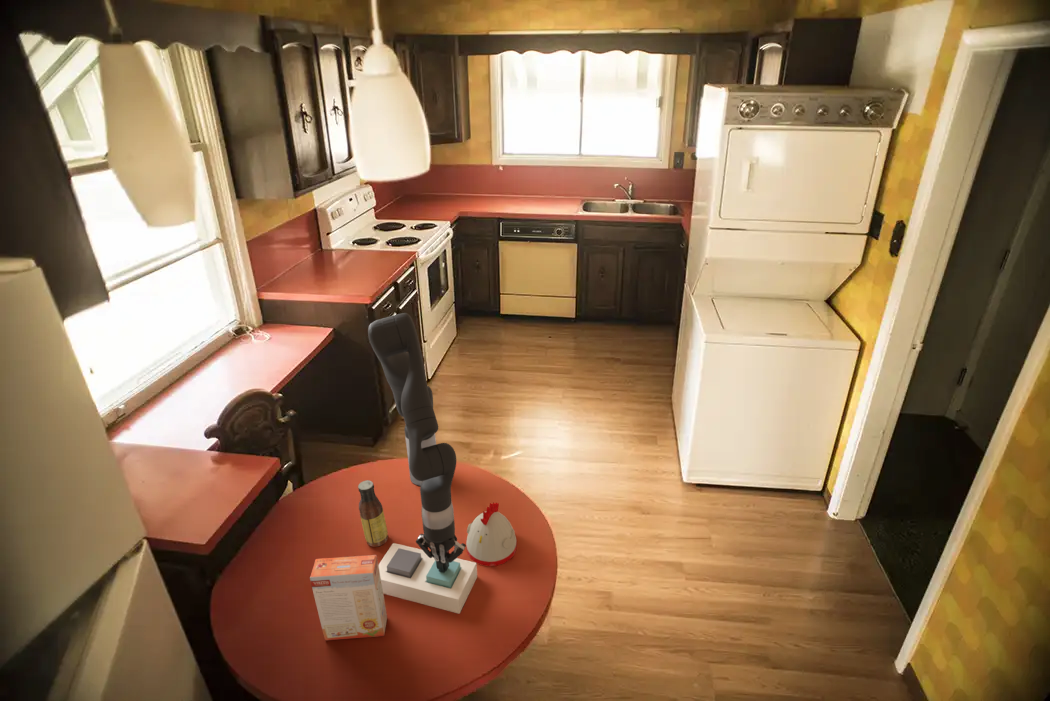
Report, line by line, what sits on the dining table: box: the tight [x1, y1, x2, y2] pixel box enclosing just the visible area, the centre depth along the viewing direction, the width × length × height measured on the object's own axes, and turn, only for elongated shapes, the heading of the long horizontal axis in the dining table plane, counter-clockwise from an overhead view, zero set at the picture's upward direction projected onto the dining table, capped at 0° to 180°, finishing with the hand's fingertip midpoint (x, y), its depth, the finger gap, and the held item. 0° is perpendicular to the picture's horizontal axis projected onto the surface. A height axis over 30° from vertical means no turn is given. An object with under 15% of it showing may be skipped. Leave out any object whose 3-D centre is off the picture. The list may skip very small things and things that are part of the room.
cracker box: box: [309, 554, 388, 641], centre depth 138 cm, size 14×6×21 cm, turn 94°
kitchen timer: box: [465, 502, 518, 567], centre depth 163 cm, size 14×14×15 cm
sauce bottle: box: [357, 479, 389, 548], centre depth 164 cm, size 7×6×20 cm
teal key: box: [426, 561, 461, 589], centre depth 151 cm, size 6×6×4 cm
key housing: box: [378, 542, 478, 614], centre depth 154 cm, size 12×24×5 cm, turn 73°
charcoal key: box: [387, 548, 422, 578], centre depth 154 cm, size 6×6×4 cm
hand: (443, 569), depth 150 cm, fingers closed
